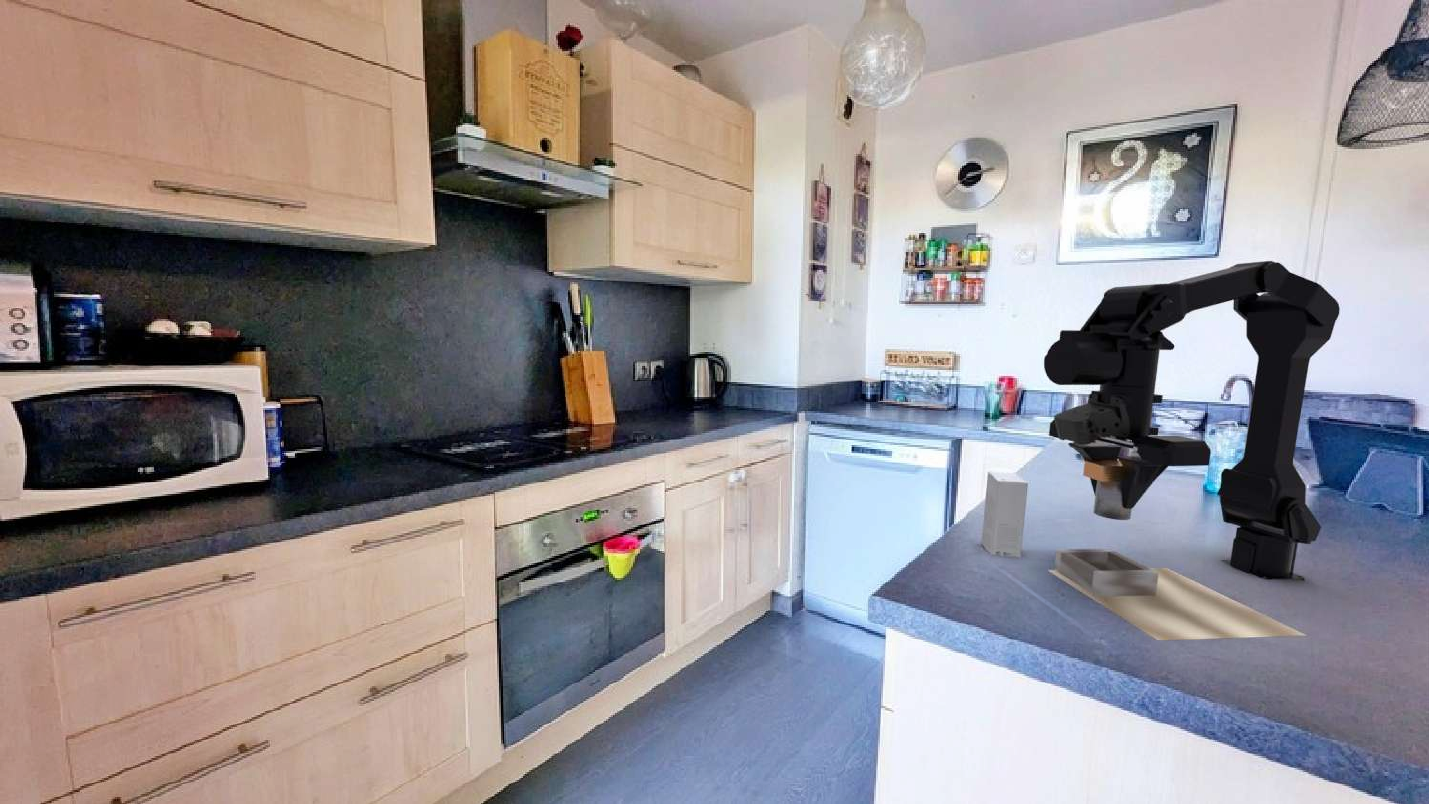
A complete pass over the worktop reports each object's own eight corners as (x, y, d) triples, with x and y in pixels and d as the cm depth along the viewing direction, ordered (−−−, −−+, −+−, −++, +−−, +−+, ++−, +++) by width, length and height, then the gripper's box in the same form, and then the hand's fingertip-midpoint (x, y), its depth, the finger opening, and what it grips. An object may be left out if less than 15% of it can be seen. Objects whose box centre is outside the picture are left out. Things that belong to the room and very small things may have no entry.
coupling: (1121, 509, 77) (1127, 459, 76) (1148, 519, 73) (1155, 466, 72) (1076, 510, 76) (1081, 459, 75) (1100, 520, 72) (1106, 467, 71)
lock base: (1165, 571, 81) (1168, 547, 81) (1305, 640, 64) (1310, 610, 63) (1047, 574, 80) (1049, 549, 79) (1157, 645, 62) (1161, 614, 61)
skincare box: (1021, 561, 84) (1029, 482, 82) (990, 558, 85) (997, 480, 83) (1009, 546, 90) (1016, 472, 88) (980, 543, 91) (986, 470, 89)
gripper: (1020, 378, 80) (1010, 485, 82) (1137, 393, 62) (1120, 530, 64) (1089, 378, 82) (1078, 483, 84) (1223, 393, 64) (1204, 527, 66)
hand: (1113, 503), depth 75 cm, fingers closed on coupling, 4 cm apart
